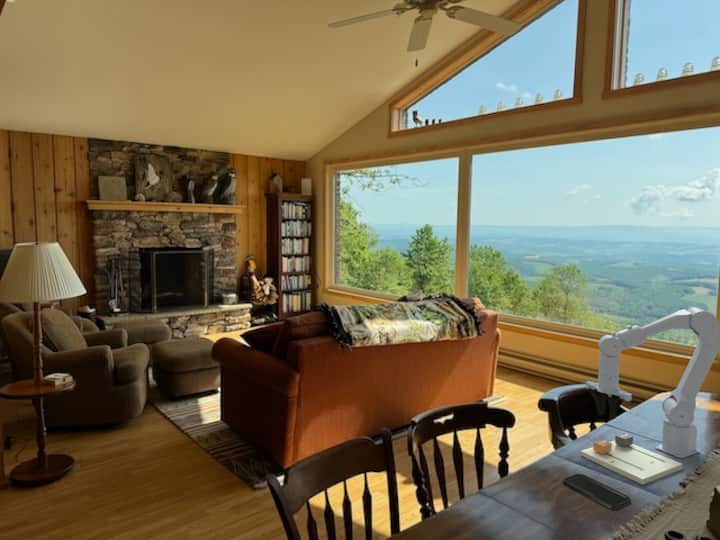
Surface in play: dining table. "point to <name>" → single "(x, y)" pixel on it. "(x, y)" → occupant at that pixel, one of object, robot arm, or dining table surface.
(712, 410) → the dining table surface
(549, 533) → the dining table surface
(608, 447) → the fader orange
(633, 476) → the board
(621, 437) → the block
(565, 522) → the dining table surface
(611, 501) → the phone
